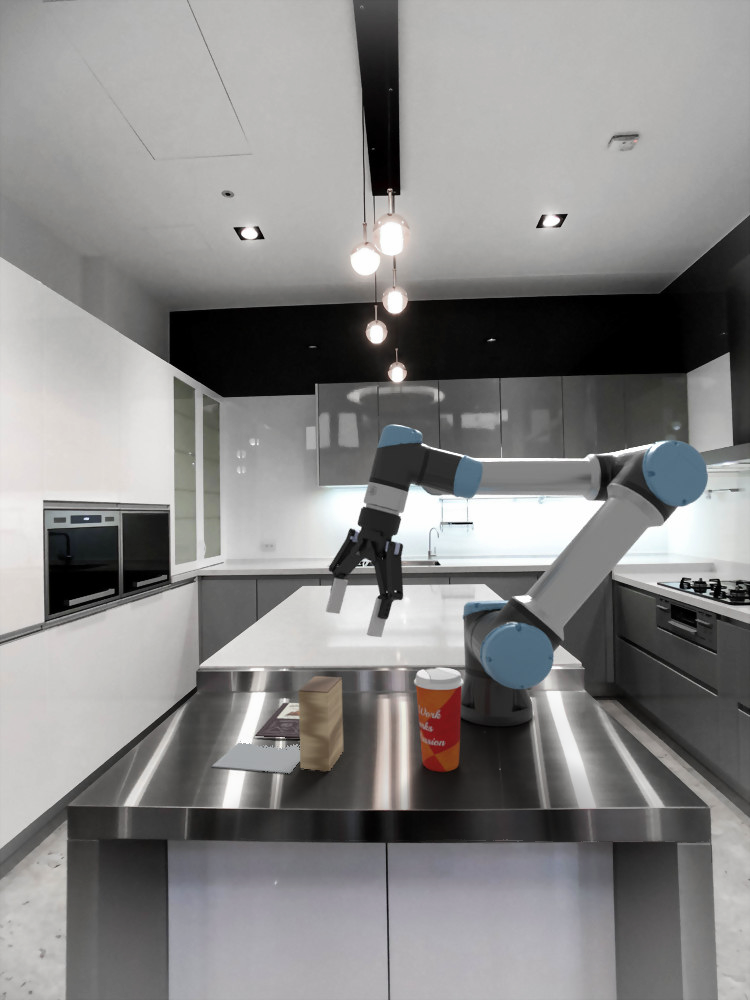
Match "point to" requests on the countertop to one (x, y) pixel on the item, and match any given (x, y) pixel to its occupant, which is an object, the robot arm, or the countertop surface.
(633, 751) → the countertop surface
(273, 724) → the chocolate bar
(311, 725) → the oak block
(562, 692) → the countertop surface
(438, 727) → the coffee cup
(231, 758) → the felt mat
